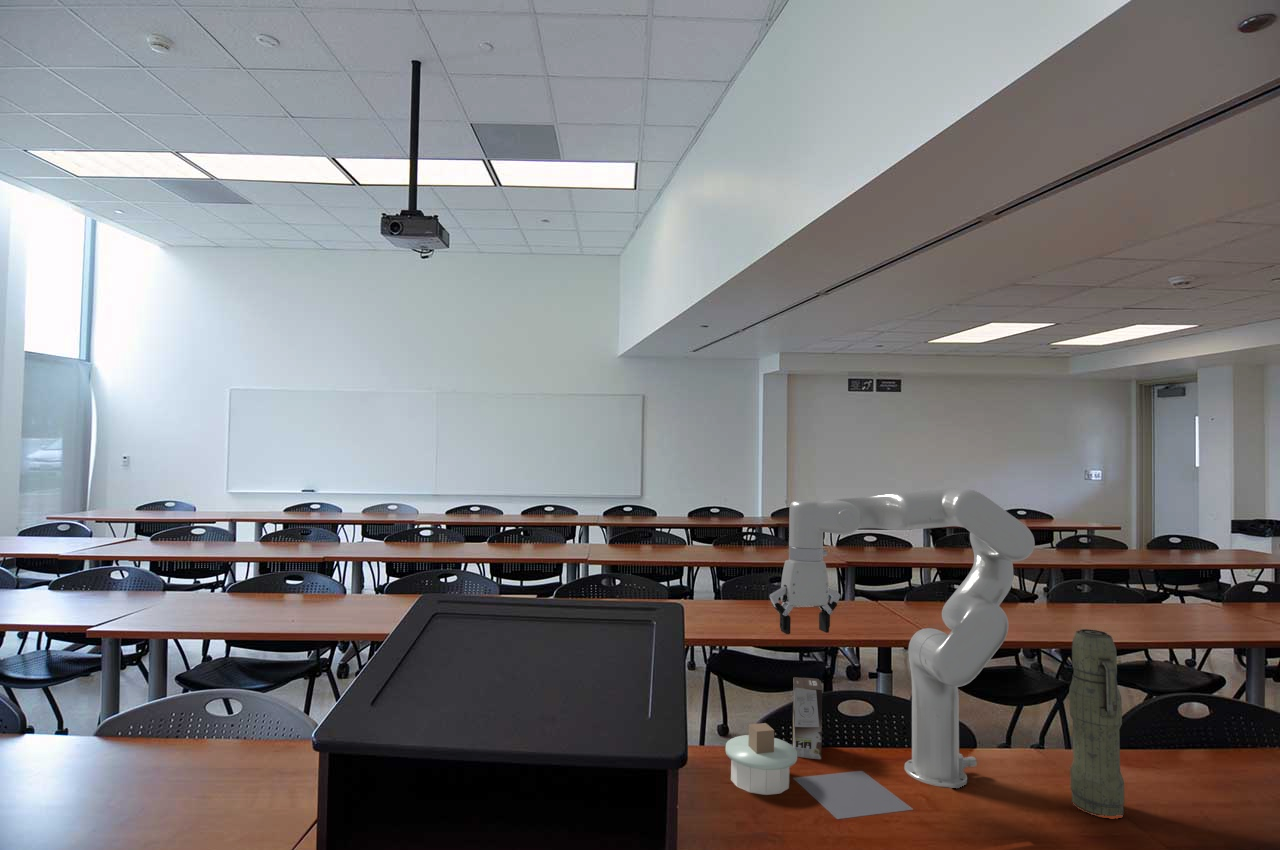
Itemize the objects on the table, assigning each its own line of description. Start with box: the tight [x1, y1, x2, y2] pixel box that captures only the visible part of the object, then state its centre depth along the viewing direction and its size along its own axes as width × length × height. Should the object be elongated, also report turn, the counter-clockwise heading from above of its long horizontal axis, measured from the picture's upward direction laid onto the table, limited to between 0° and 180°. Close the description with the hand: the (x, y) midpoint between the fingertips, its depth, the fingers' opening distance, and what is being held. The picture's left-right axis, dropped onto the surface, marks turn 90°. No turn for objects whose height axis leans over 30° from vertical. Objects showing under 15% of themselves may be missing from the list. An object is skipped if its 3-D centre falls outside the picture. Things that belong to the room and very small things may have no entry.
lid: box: [725, 722, 798, 770], centre depth 138 cm, size 15×15×6 cm
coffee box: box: [792, 676, 823, 760], centre depth 155 cm, size 9×6×16 cm
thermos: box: [1068, 628, 1125, 816], centre depth 133 cm, size 9×12×35 cm
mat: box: [792, 770, 914, 820], centre depth 133 cm, size 17×17×1 cm
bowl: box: [730, 759, 790, 796], centre depth 138 cm, size 12×12×6 cm
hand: (804, 632), depth 146 cm, fingers open, 9 cm apart
